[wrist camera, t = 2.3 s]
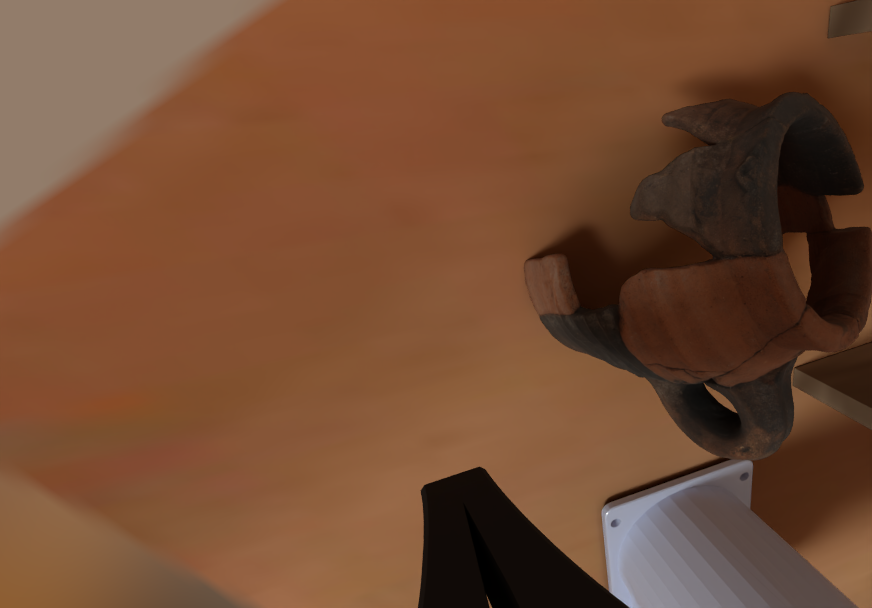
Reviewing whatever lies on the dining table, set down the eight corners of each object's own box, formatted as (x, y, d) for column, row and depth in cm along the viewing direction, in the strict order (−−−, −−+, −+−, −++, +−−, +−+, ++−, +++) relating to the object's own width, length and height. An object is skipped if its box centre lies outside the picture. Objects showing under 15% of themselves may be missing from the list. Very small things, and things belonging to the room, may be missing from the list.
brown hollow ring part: (470, 197, 17) (701, 94, 10) (621, 136, 22) (848, 36, 15) (584, 485, 19) (845, 567, 12) (699, 370, 24) (934, 381, 17)
